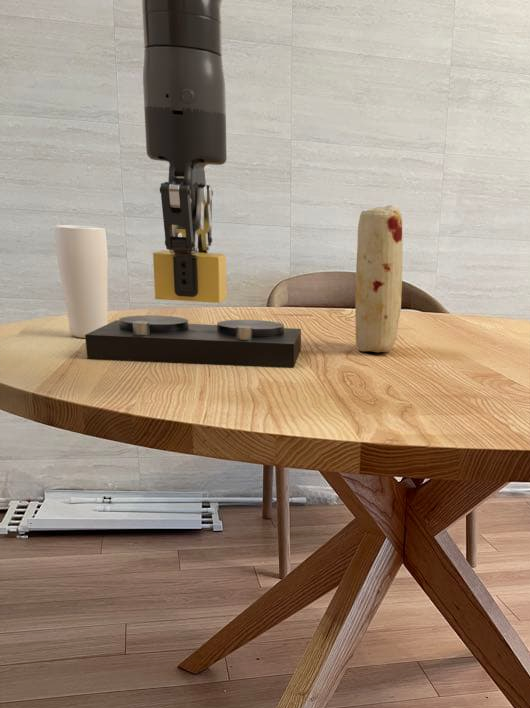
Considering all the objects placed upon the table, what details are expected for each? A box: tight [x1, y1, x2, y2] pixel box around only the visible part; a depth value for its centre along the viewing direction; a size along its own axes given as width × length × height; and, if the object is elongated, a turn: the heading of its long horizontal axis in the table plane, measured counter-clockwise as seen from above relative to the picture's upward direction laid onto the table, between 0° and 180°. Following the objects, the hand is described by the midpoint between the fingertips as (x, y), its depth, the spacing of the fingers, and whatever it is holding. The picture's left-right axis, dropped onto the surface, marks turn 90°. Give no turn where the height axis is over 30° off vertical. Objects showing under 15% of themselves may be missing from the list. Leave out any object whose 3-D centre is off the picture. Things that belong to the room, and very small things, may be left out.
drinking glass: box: [54, 224, 109, 339], centre depth 118 cm, size 7×7×15 cm
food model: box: [354, 204, 404, 353], centre depth 118 cm, size 10×7×20 cm
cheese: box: [152, 250, 228, 304], centre depth 84 cm, size 6×5×4 cm
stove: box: [84, 314, 302, 369], centre depth 111 cm, size 26×14×5 cm, turn 93°
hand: (191, 292), depth 85 cm, fingers closed on cheese, 4 cm apart
